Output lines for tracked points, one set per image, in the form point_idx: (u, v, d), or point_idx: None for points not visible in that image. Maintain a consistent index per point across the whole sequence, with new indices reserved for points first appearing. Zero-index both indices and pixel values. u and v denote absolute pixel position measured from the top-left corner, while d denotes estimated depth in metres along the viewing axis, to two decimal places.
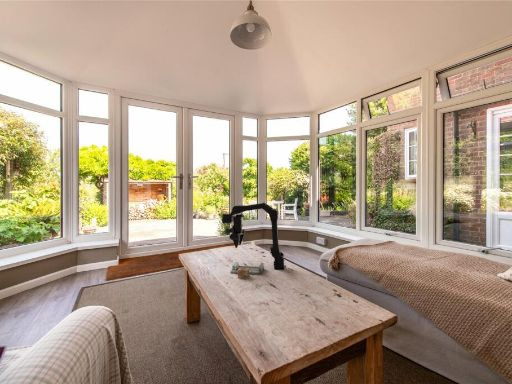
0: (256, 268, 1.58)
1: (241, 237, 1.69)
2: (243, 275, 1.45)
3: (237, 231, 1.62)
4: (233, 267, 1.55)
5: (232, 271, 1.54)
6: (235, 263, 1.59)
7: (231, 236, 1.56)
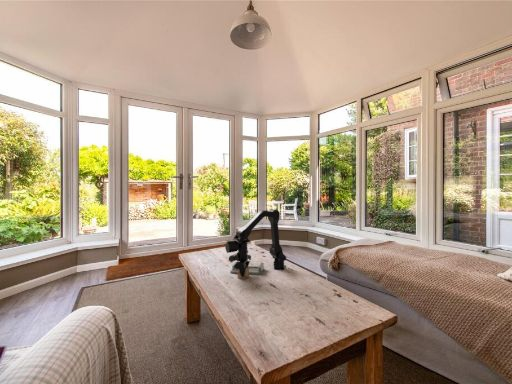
0: (256, 268, 1.58)
1: (246, 265, 1.50)
2: None
3: (242, 259, 1.44)
4: (233, 267, 1.55)
5: (232, 271, 1.54)
6: None
7: (236, 266, 1.38)
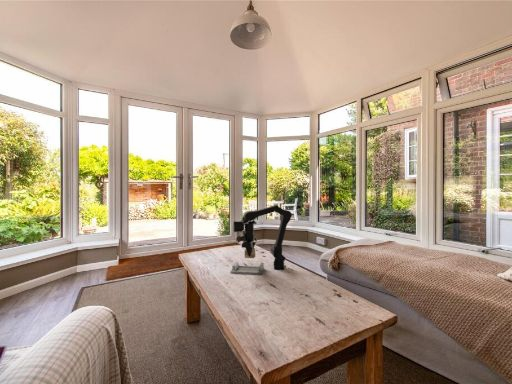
0: (256, 268, 1.58)
1: (252, 246, 1.58)
2: None
3: (249, 239, 1.53)
4: (233, 267, 1.55)
5: (232, 271, 1.54)
6: (235, 263, 1.59)
7: (243, 245, 1.47)
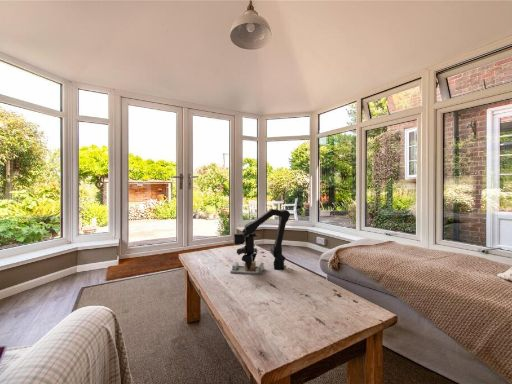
0: (256, 268, 1.58)
1: (253, 257, 1.61)
2: (250, 267, 1.54)
3: (249, 252, 1.53)
4: (233, 267, 1.55)
5: (232, 271, 1.54)
6: (235, 263, 1.59)
7: (244, 258, 1.47)
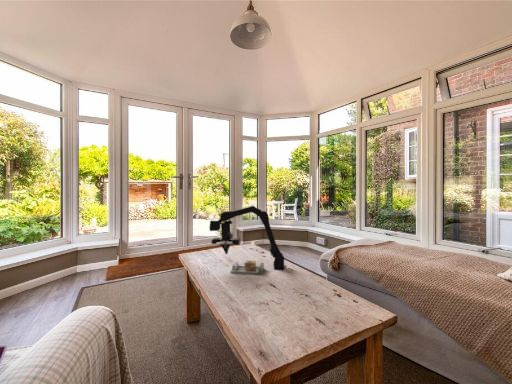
0: (256, 268, 1.58)
1: None
2: (250, 267, 1.54)
3: None
4: (233, 267, 1.55)
5: (232, 271, 1.54)
6: (235, 263, 1.59)
7: None
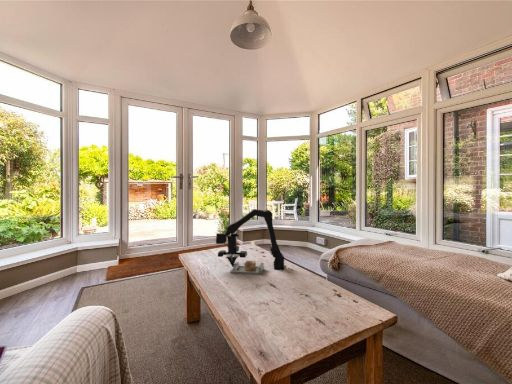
0: (256, 268, 1.58)
1: None
2: (250, 267, 1.54)
3: (228, 250, 1.59)
4: (234, 267, 1.55)
5: (232, 271, 1.54)
6: (236, 263, 1.59)
7: None
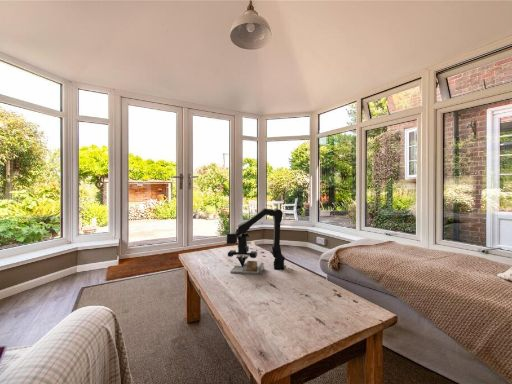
0: None
1: None
2: (251, 267, 1.54)
3: (238, 250, 1.57)
4: (244, 268, 1.53)
5: (232, 271, 1.54)
6: (245, 263, 1.58)
7: None
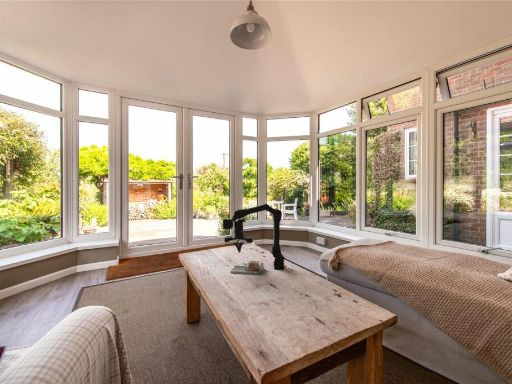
0: None
1: None
2: (253, 267, 1.54)
3: None
4: (246, 268, 1.53)
5: (232, 271, 1.54)
6: (247, 264, 1.58)
7: None
